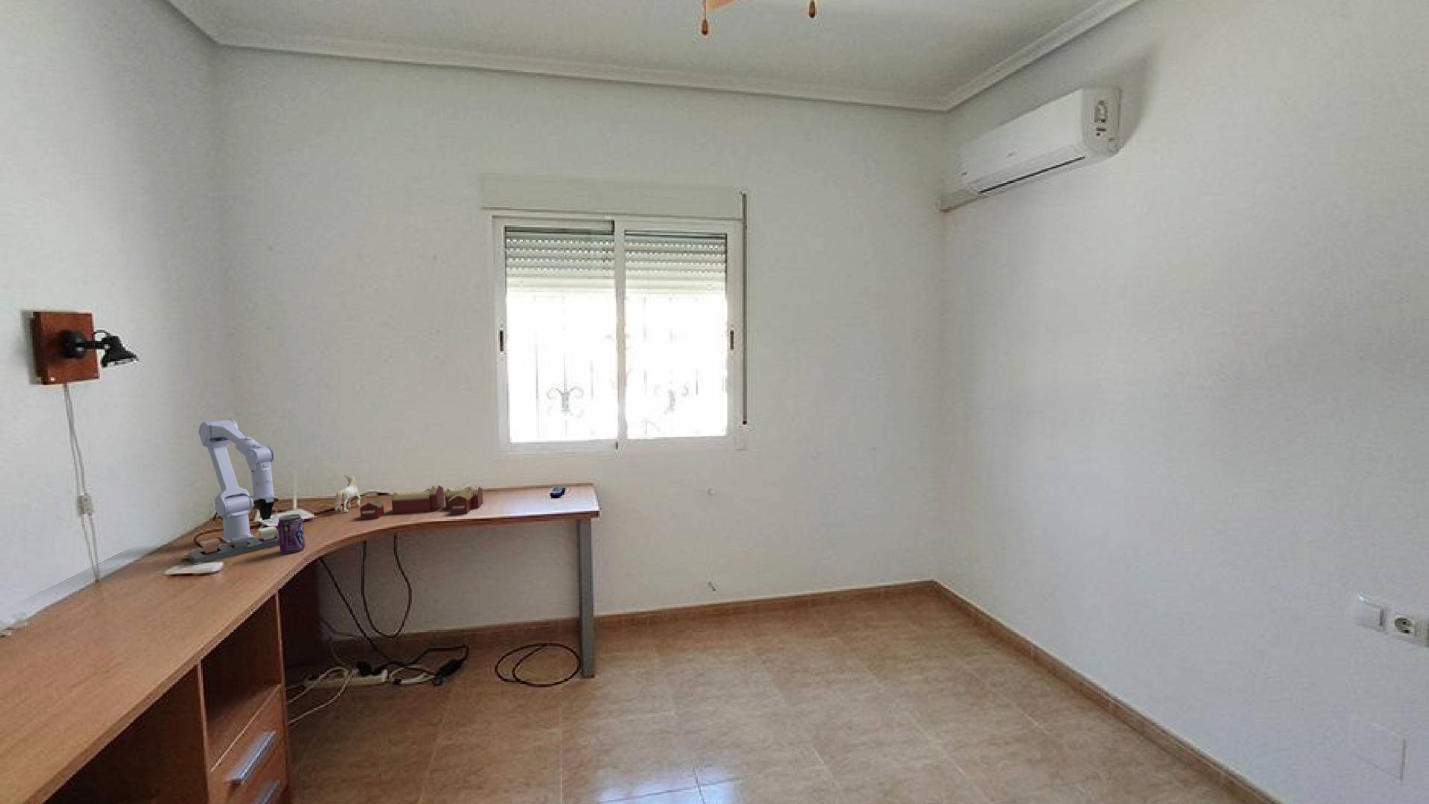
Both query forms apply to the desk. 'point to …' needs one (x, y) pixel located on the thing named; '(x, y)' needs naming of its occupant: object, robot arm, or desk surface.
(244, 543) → the light grey block
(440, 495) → the toy houses
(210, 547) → the terracotta key
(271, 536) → the off-white block
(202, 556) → the panel
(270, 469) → the robot arm
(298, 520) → the beverage can
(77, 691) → the desk surface
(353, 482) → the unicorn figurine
